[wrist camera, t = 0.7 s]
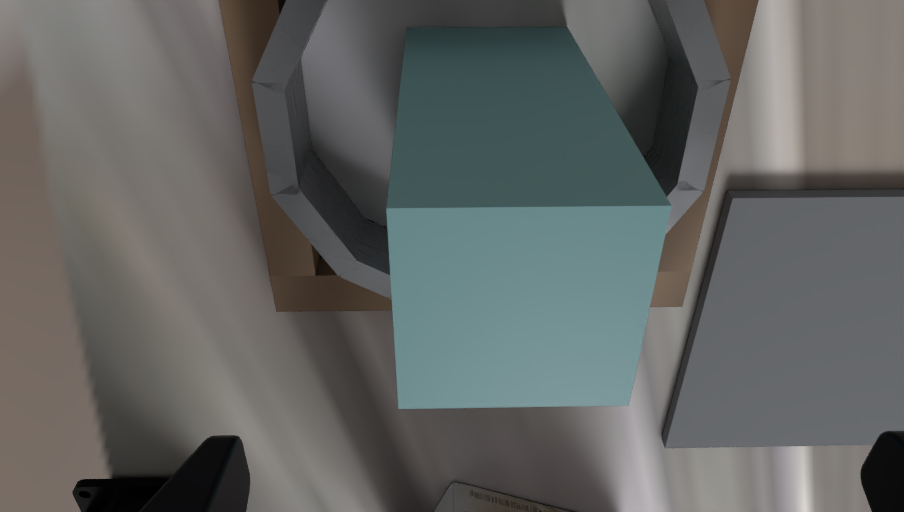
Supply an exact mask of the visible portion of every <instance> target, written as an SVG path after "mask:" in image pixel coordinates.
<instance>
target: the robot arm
mask: <svg viewBox="0 0 904 512" xmlns="http://www.w3.org/2000/svg"><path fill="white" fill-rule="evenodd" d="M861 483H862V486H863V489H864V492H865V495H866V497H867V500H868V503H869V505H870V508H871V511H872V512H904V431H885V432H883V433H881V434H880V435H879V437H878V438H877V440H876V442H875V443H874V445H873V447H872V449H871V451H870V453H869V454H868V456H867V458H866V460H865V462H864V463H863V465H862V468H861ZM249 490H250V473H249V469H248V464H247V460H246V456H245V452H244V447H243V443H242V440H241V439H240V437H238V436H235V435H220V436H211V437H209V438H207V439H206V440H205V441H204V442H203V443H202V444H201V445H200V446H199V447H198V448H197V449H196V451H195V452H194V453H193V454H192V455H191V456H190V457H189V458H188V459H187V460H186V461H185V462H184V464H183V465H182V466H181V467H180V468H179V469H178V470H177V471H176V472H175V473H174V474H173V475H172V477H171V478H130V479H84V480H80V481H78V482H77V484H76V486H75V488H74V490H73V496H74V498H75V500H76V502H77V504H78V506H79V508H80V510H81V512H246V509H247V503H248V496H249Z"/></svg>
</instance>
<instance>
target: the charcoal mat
mask: <svg viewBox="0 0 904 512" xmlns="http://www.w3.org/2000/svg"><path fill="white" fill-rule="evenodd" d="M885 431H904V189H871V190H758V191H727V194H726V197H725V201H724V205H723V209H722V213H721V216H720V220H719V224H718V228H717V231H716V235H715V239H714V243H713V247H712V250H711V254H710V258H709V262H708V265H707V269H706V273H705V277H704V281H703V284H702V288H701V292H700V296H699V300H698V303H697V307H696V311H695V315H694V318H693V322H692V326H691V330H690V334H689V337H688V341H687V345H686V349H685V353H684V356H683V360H682V364H681V368H680V371H679V375H678V379H677V383H676V387H675V390H674V394H673V398H672V402H671V405H670V409H669V413H668V417H667V421H666V424H665V428H664V432H663V436H662V441H663V444H664V447H665V448H708V447H768V446H827V445H874V443H875V442H876V440H877V438H878V437H879V435H880V434H881V433H883V432H885Z"/></svg>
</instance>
